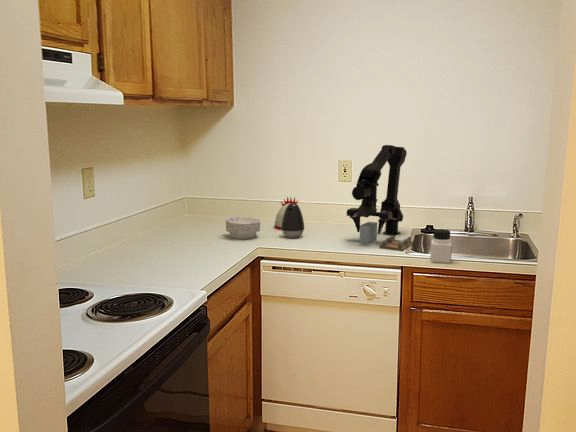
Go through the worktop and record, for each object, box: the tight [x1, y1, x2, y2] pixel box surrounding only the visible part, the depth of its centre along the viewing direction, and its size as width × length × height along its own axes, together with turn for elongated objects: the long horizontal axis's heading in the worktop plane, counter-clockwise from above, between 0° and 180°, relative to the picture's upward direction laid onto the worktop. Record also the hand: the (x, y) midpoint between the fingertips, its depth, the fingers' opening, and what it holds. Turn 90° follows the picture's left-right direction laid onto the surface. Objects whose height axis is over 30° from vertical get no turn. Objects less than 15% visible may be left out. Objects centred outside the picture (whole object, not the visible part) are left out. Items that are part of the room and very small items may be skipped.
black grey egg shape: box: [281, 203, 305, 239], centre depth 261 cm, size 10×10×15 cm
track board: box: [378, 235, 414, 252], centre depth 245 cm, size 14×10×3 cm
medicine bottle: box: [430, 228, 453, 264], centre depth 221 cm, size 7×7×12 cm
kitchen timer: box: [274, 196, 299, 231], centre depth 281 cm, size 14×14×15 cm
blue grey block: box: [359, 221, 378, 246], centre depth 252 cm, size 10×4×8 cm, turn 152°
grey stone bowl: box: [225, 216, 261, 240], centre depth 261 cm, size 15×15×8 cm
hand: (368, 233), depth 252 cm, fingers open, 9 cm apart
